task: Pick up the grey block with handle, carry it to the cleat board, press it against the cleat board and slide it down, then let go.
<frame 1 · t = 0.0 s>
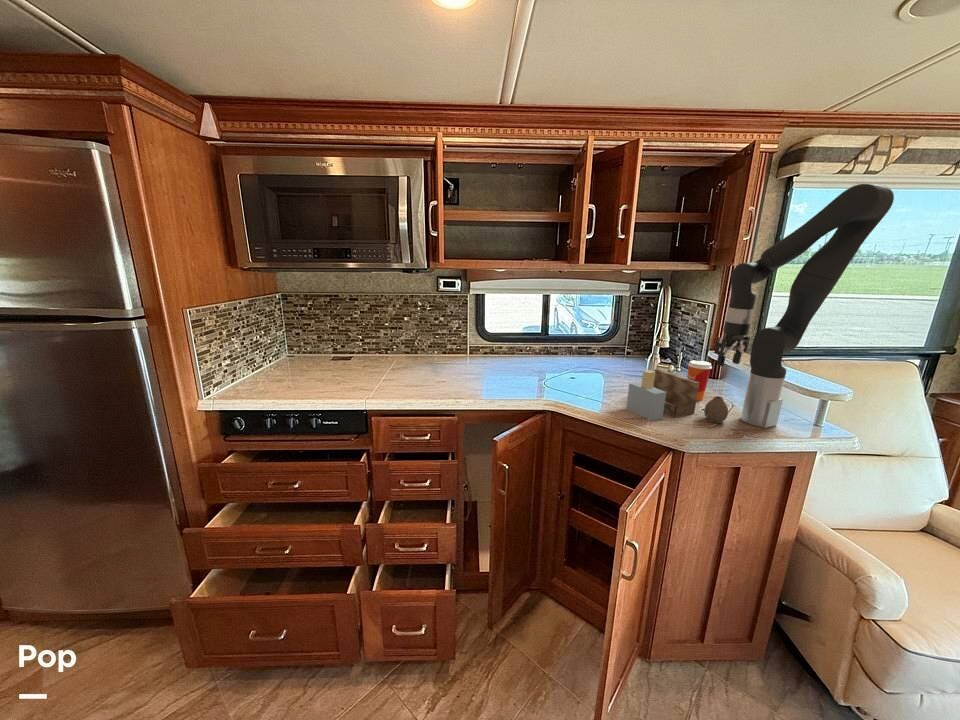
hand: (727, 364, 133), 17 cm above the counter, tool pointing down, fingers open, 8 cm apart
vase: (714, 421, 127), on the counter
cleat board: (671, 405, 140), on the counter
grey block with handle: (643, 413, 133), on the counter
coffee cup: (694, 398, 147), on the counter
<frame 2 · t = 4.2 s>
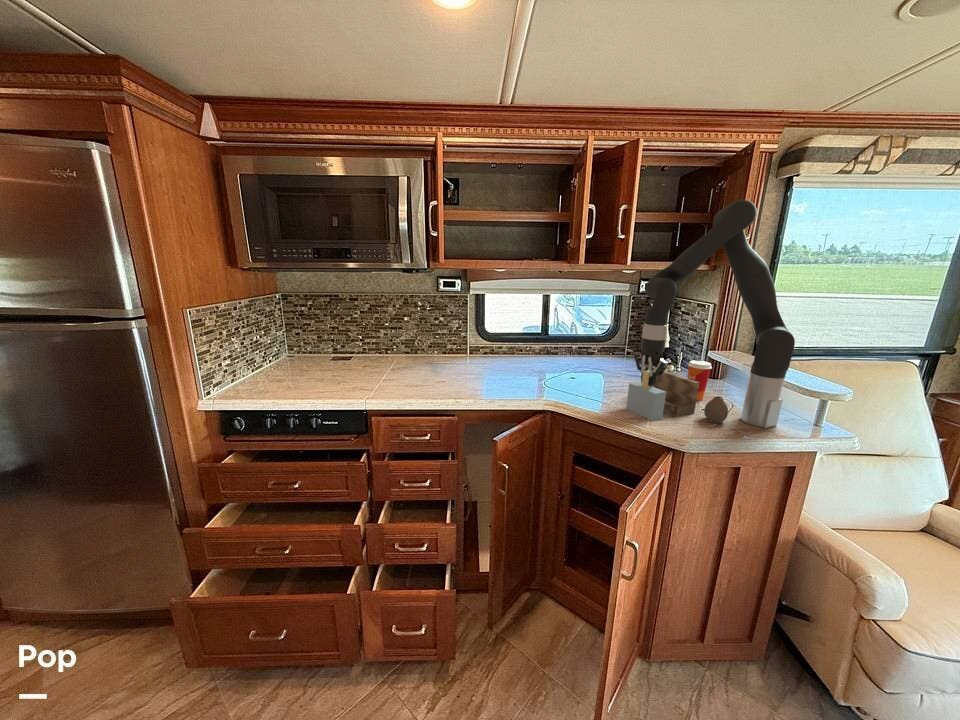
hand: (647, 384, 130), 11 cm above the counter, tool pointing down, fingers closed on grey block with handle, 2 cm apart
grey block with handle: (643, 413, 133), on the counter, touching gripper
everything else where it was.
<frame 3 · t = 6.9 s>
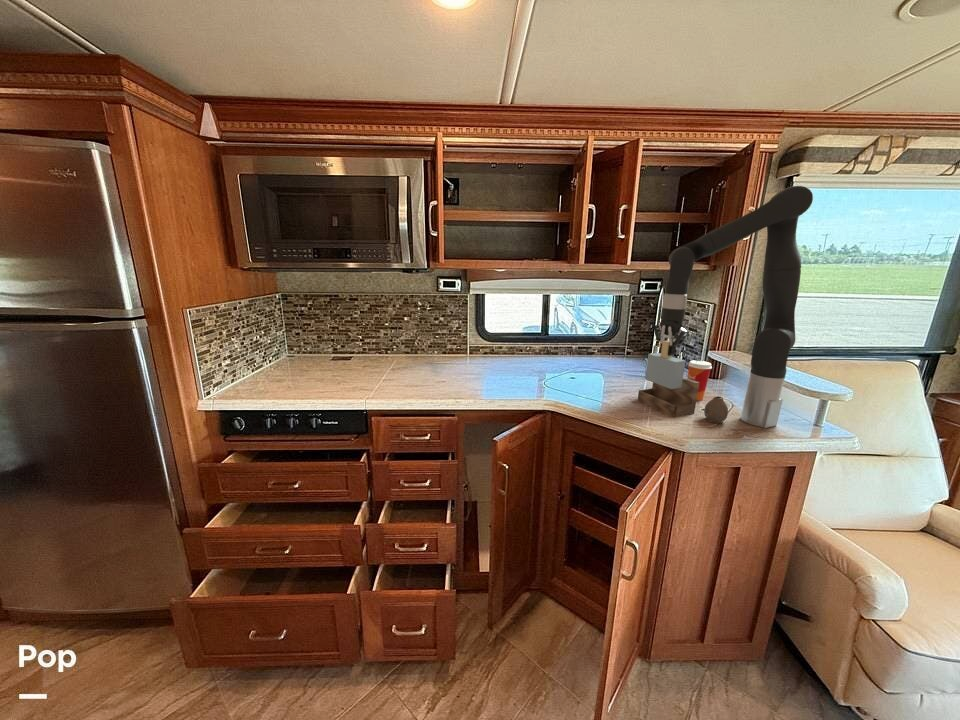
hand: (666, 354, 132), 21 cm above the counter, tool pointing down, fingers closed on grey block with handle, 2 cm apart
grey block with handle: (662, 383, 135), point 10 cm above the counter, touching gripper
everything else where it was.
when the fingers open (12 cm above the counter, at t = 9.7 s): grey block with handle stays where it is, resting in cleat board.
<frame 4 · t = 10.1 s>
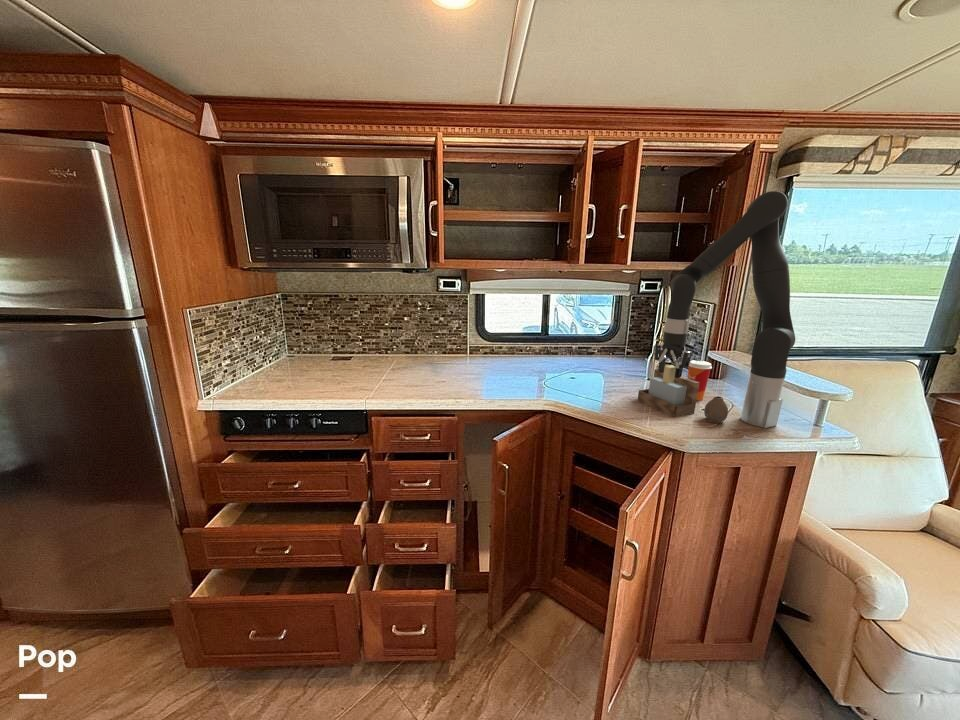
hand: (669, 374, 135), 13 cm above the counter, tool pointing down, fingers open, 6 cm apart
grey block with handle: (664, 406, 139), resting in cleat board
everything else where it was.
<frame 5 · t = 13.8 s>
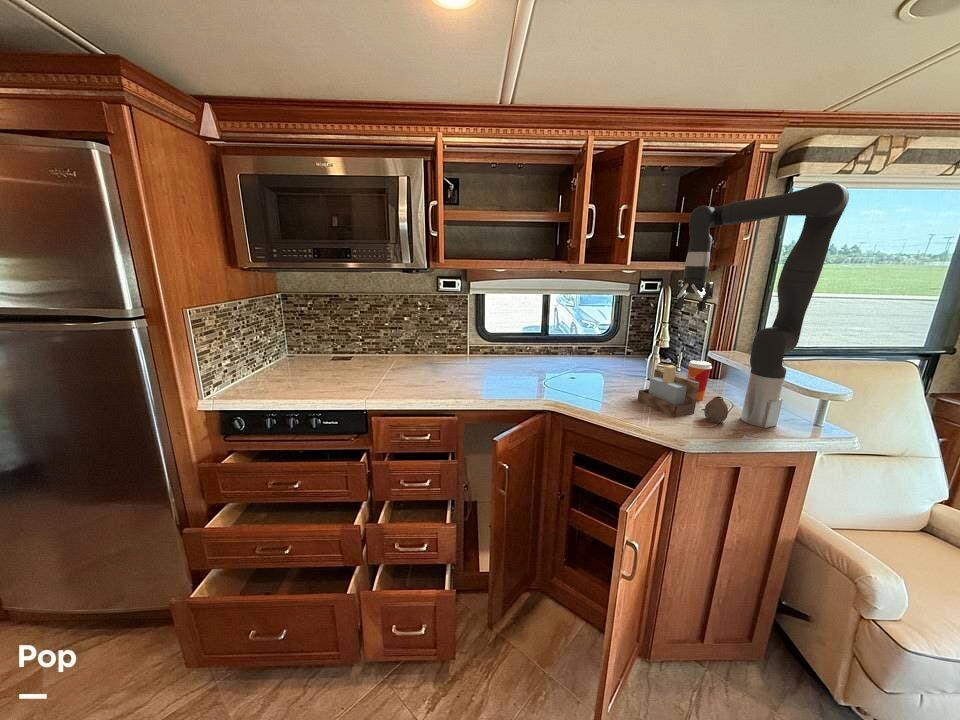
hand: (689, 309, 137), 36 cm above the counter, tool pointing down, fingers open, 8 cm apart
nothing on the counter moved.
at the end: grey block with handle inside the target area on the cleat board (0.4 cm from its centre), point 0.0 cm above the cleat board's base; grey block with handle tilted 0°; the gripper is holding nothing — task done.
